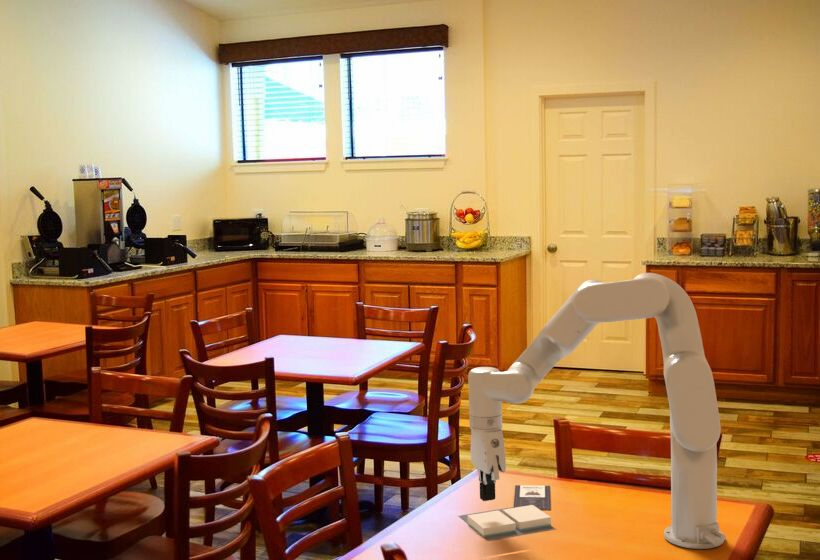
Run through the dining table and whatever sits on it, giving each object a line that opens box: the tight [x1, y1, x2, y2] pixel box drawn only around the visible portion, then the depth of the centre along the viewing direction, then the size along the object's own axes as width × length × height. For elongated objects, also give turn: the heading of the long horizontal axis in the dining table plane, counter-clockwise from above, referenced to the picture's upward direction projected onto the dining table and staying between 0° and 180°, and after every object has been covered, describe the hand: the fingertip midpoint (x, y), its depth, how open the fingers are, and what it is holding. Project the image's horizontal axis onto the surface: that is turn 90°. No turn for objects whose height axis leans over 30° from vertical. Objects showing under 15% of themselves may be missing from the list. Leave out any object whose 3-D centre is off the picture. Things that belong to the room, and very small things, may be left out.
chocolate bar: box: [512, 484, 552, 511], centre depth 223 cm, size 9×1×18 cm
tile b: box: [466, 509, 516, 538], centre depth 203 cm, size 2×8×9 cm
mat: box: [458, 506, 556, 542], centre depth 206 cm, size 17×17×1 cm
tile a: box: [502, 505, 552, 531], centre depth 206 cm, size 2×8×9 cm
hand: (487, 499), depth 204 cm, fingers closed
